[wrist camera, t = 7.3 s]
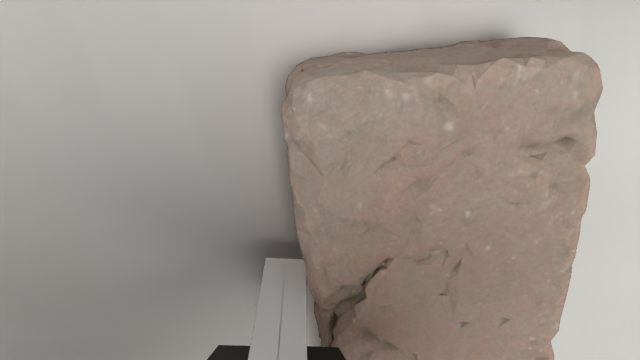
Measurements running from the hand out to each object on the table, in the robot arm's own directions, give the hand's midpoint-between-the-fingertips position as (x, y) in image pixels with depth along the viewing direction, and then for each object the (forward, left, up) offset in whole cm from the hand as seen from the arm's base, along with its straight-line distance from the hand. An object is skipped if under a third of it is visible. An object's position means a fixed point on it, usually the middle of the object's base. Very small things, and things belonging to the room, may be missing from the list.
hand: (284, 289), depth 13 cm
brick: (+5, +1, -2) cm, 6 cm away
